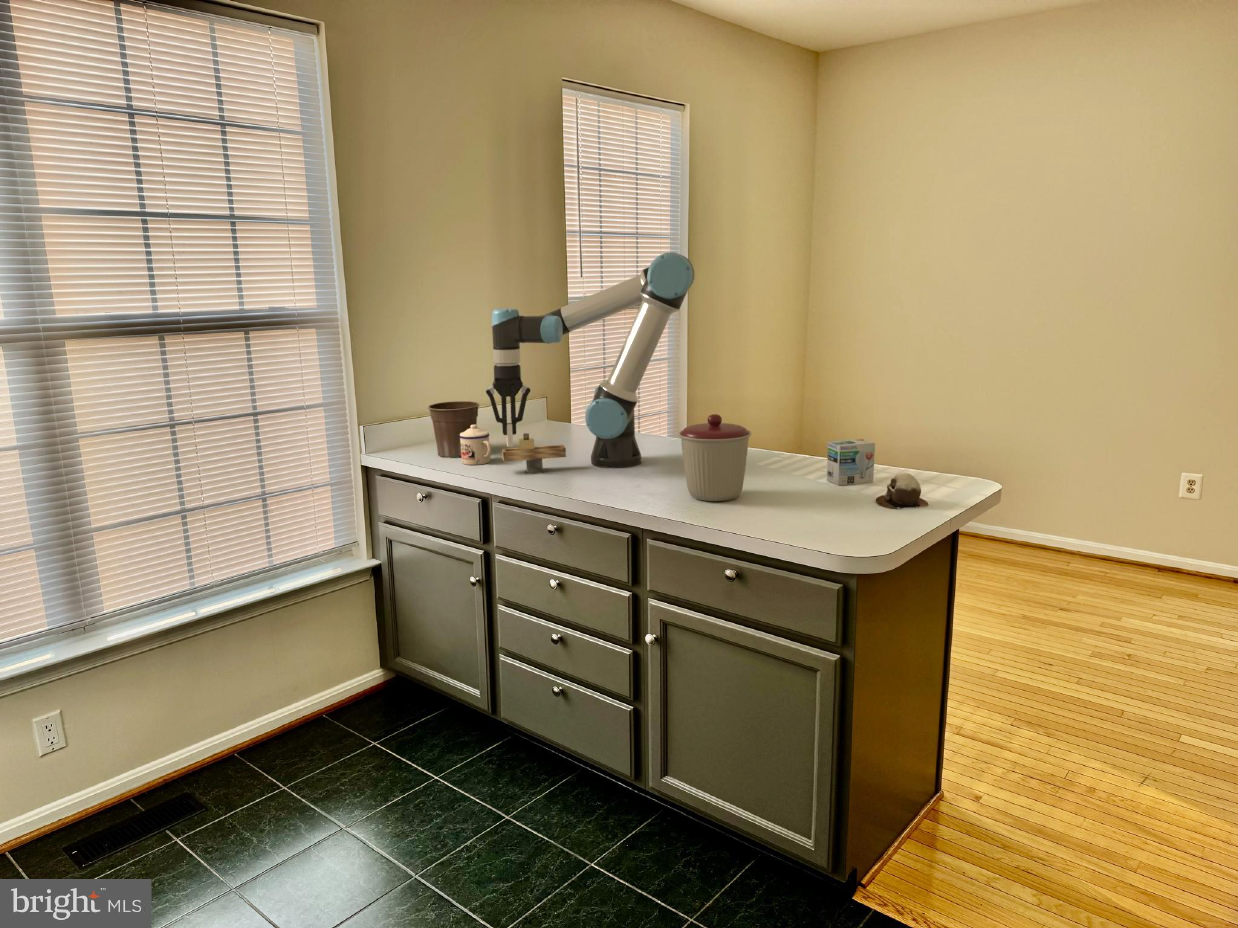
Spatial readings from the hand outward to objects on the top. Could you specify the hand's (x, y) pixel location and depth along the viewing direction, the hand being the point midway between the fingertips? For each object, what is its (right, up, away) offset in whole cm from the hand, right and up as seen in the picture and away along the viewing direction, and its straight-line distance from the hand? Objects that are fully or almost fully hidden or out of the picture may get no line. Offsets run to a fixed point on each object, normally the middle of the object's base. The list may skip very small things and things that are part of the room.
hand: (509, 445), depth 254 cm
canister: (+56, -14, -32) cm, 66 cm away
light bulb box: (+93, -10, -20) cm, 96 cm away
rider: (+5, -2, +1) cm, 5 cm away
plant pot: (-21, -2, +30) cm, 37 cm away
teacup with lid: (-11, -5, +16) cm, 20 cm away
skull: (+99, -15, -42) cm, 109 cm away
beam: (+7, -7, +3) cm, 10 cm away
